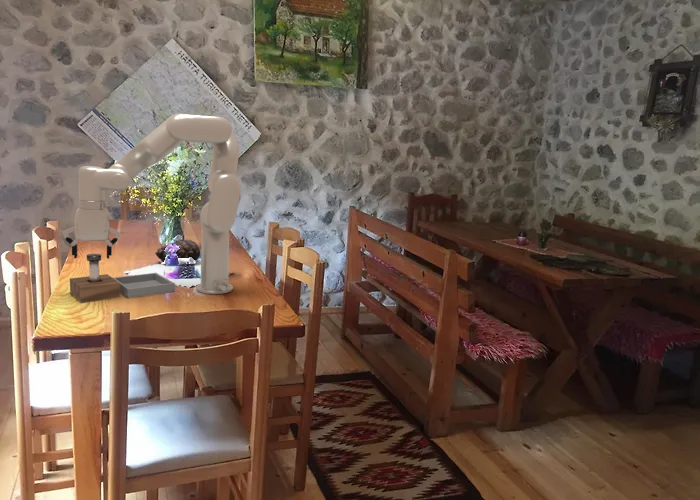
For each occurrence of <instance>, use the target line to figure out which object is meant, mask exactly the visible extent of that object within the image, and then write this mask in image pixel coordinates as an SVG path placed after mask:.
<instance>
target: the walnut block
mask: <svg viewBox="0 0 700 500" xmlns="http://www.w3.org/2000/svg"><path fill="white" fill-rule="evenodd" d="M99 276H100V282H94V283H90V276H89V275H87V276H79V277H71V278H69V292H70V293H69V294H71V295H72V296H73V297H74V298H75V299H77V300H78V302H80V304H82V303H90V302H95V301H103V300H112V299H119V298H121V293H120V283H119V282H118V281H116V280H115V279H113V278H114V277H112V276H111V275H109V274H108V273H107V274H99Z"/></svg>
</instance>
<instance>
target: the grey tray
mask: <svg viewBox="0 0 700 500" xmlns="http://www.w3.org/2000/svg"><path fill="white" fill-rule="evenodd" d="M112 278H113V279H115V280H116V281H118V282H119V283H120V294H122V295H123V296H125V297H126V298H127V299H131V298H140V297H146V296H152V295H159V294H160V295H161V294H168V293H174V292H176V289H175V288H176V283H175V282H174V281H172V280H170V279H168V278H166V277H165V276H163V275H161V274H160V273H157V272H149V273H143V274H135V275H125V276H118V277H117V276H116V277H115V276H114V277H112Z"/></svg>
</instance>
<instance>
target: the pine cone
mask: <svg viewBox="0 0 700 500" xmlns="http://www.w3.org/2000/svg"><path fill="white" fill-rule="evenodd" d="M169 244H176V245H177V246H179V248H180V249H179V250H178V251H177V252H176V254H177V256H178V258H189V257H192V258H193V259H194V260H197V261H198V260H199V258H200V257H201V250H200V249H201V248H200V247H199V245H198V244H197V242H196V241H193V240H191V239H183V240H180V241H174V242H171V243H169ZM169 244H166V245H165V246H164V245H163V246H162V247H159V248H157V250H156V251H155V253H154V254H155V255H156V257H157V258H158V259H159V260H160V261H161V262H164V260H165V257H166V254H167V253H166V252H165V251H164V250H165V248H166V247H167V246H168V245H169Z"/></svg>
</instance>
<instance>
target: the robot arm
mask: <svg viewBox="0 0 700 500" xmlns="http://www.w3.org/2000/svg"><path fill="white" fill-rule="evenodd" d="M232 127H233V126H232V124H231V122H230V121H229V120H228V119H227V118H225V117H223V116H218V115H198V114H188V113H181V112H180V113H174V114H172V115H171V116H170V117H168V118H167V119H166V120H165V121H163V122H162V123H161V124H159V126H157V127H156V128H155V129H153V130H152V131H151V132H150V133H149V134H148V135H146V136H145V137H144V138H143V139H141V141H139V142H138V143H137V144H136V145H135V146H134V147H133V148H131V149H130V150H129V151H128V152H127V153H125V154H124V155H123V156H122V157H121V158H119V159H118V160H117V161H116V162H115V163H113V164H112V165H110V167H109V168H103V167H101V166H95V165H94V166H93V165H84V166H80V168H79V169H78V207H77V208H76V211H75V216H74V226H72V227H70V228H67V229H65V230H63V231H62V232H61V234H62V236H63V238H64V239H65V241H66V242H67V243H68V244H69V245H70V246H71V256H73V259H77V258H78V243H79V242H80V241H81V242H82V241H83V242H84V241H85V242H86V241H87V242H89V241H91V242H95V241H96V242H103V241H104V242H105V244H106V259H108V260H109V259H110V256H112V255H113V253H112V252H113V251H112V247H113V245H115V244H116V243H117V242H118V240H119V238H120V237H121V235H122V233H121V232H120V231H119V230H116V229H114V228H112V227H111V226H110V219H109V212H108V209H106V208H107V207H110V201H109V202H108V201H106V199H105V198H106V193H105V192H106V191H111V192H123V191H124V192H125V191H126V190H127V189H128V188H129V187H130V186H131V182H132V180H133V179H135V178H136V177H137V176H138V175H139V174H140V173H142V172H143V171H144V170H146V169H147V168H149V167H151V166H154V165H156V164H157V163H159V162H161V161H162V160H163V159H165V158H166V156H168V155H170V153H172V152H173V151H174V150H175V149H176V148H177V147H179V146H180V145H181V144H182V143H184V142H191V143H205V144H207V143H209V144H211V145H212V148H213V149H212V152H213V153H212V163H211V165H210V166H211V167H210V171H209V172H210V173H209V176H208V177H209V178H208V180H207V187H208V190H209V192H210V194H209V195H210V196H209V201H207V202H206V203H205V204H204V205H203V207H202V209H201V210H200V220H199V221H200V231H201V233H200V235H201V238H200V239H201V242H200V244H201V245H200V249H201V250H200V283H198V284H197V285H196V286H195V290H196V291H197V292H198V293H201V294H208V295H222V294H226V293H227V294H228V293H230V292H232V290H233V288H234V287H233V285H232V284H231V283H229V274H230V273H229V268H230V267H229V262H230V260H229V259H230V230H231V229H232V228H233V226H234V224H235V222H236V217H237V213H238V208H239V203H240V196H241V183H240V180H239V178H238V177H237V169H238V163H239V158H240V157H239V156H240V155H239V154H240V149H239V148H240V147H239V142H238V140H237V137H236V135H235V133H234V132H233V128H232ZM71 233H74V239H73V238H71V237H70V236H69V234H71ZM110 233H111V234H113V235H114V237H113V238H112V239H111V238H109V237H110Z"/></svg>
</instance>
